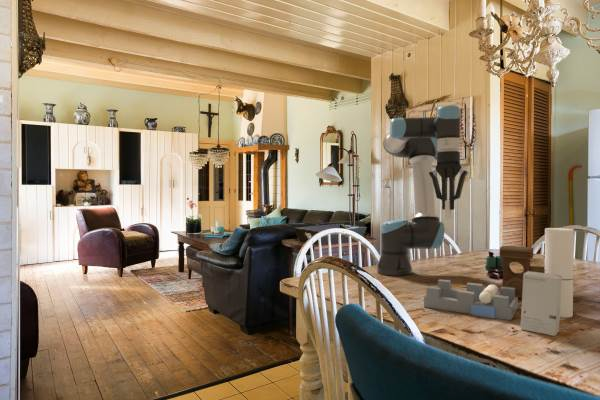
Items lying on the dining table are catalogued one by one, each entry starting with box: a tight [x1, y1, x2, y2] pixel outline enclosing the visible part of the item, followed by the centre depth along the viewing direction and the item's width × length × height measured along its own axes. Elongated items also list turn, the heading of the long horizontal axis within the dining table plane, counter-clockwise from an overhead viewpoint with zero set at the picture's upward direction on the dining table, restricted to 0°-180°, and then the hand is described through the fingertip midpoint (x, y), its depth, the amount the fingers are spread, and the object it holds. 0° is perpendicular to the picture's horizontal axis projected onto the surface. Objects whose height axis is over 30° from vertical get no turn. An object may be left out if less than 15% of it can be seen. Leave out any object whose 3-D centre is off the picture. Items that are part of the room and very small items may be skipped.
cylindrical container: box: [544, 227, 575, 318], centre depth 122 cm, size 7×7×25 cm
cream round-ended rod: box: [479, 284, 499, 304], centre depth 126 cm, size 4×14×4 cm, turn 146°
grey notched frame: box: [423, 279, 519, 321], centre depth 129 cm, size 25×15×6 cm, turn 56°
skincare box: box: [520, 271, 562, 337], centre depth 108 cm, size 8×6×15 cm
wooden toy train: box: [499, 245, 545, 299], centre depth 141 cm, size 20×11×17 cm, turn 58°
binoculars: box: [484, 250, 503, 280], centre depth 172 cm, size 9×11×10 cm
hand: (448, 219), depth 145 cm, fingers closed
